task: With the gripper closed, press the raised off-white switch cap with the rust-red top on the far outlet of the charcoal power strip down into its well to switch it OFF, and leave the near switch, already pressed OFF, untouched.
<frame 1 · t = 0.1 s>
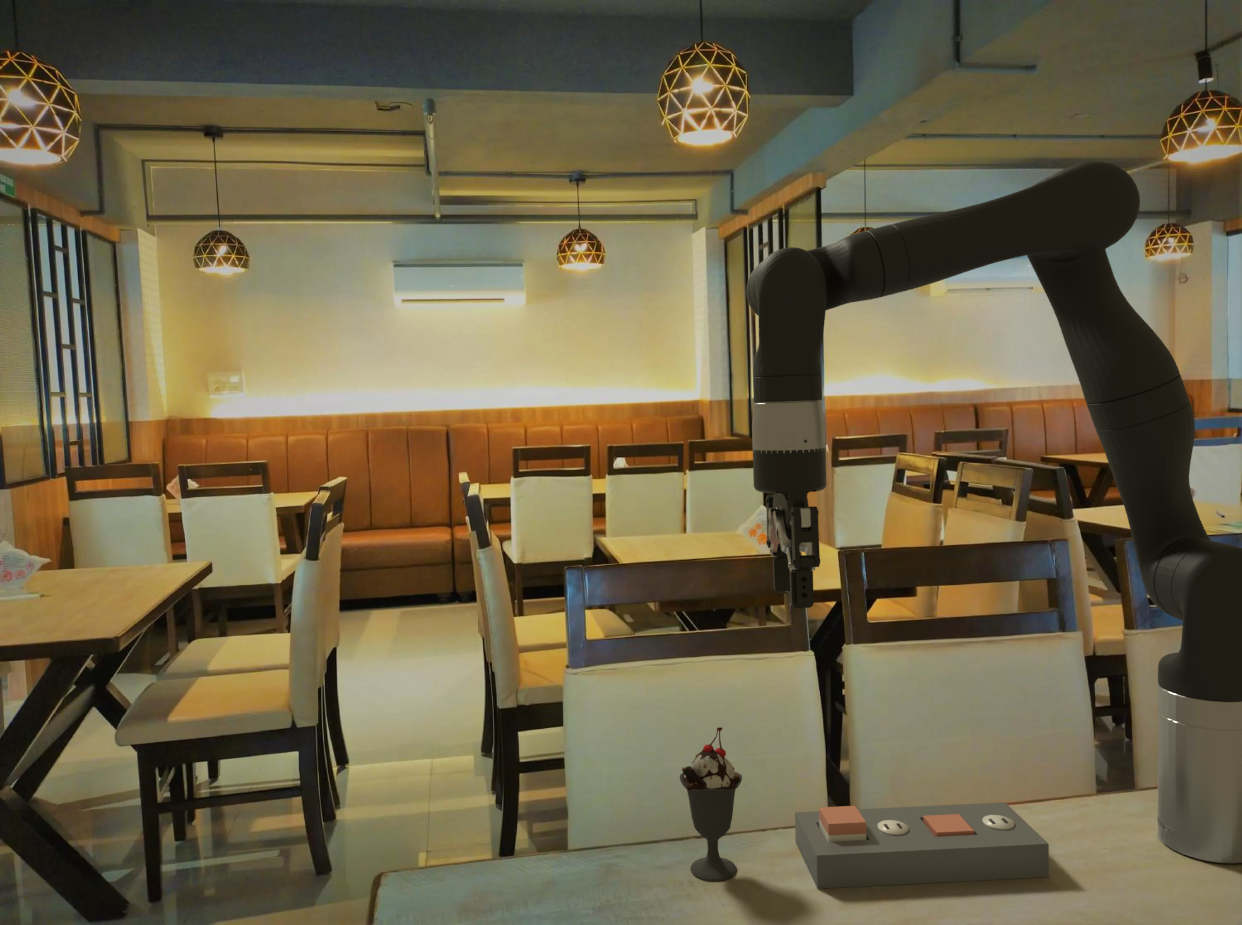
hand: (792, 598, 97), 29 cm above the table, fingers open, 8 cm apart
sundae: (713, 871, 99), on the table
switch 2: (842, 826, 99), point 4 cm above the table, slide at 0.0 cm
switch 1: (948, 834, 99), point 3 cm above the table, slide at 1.5 cm
power strip: (916, 858, 99), on the table
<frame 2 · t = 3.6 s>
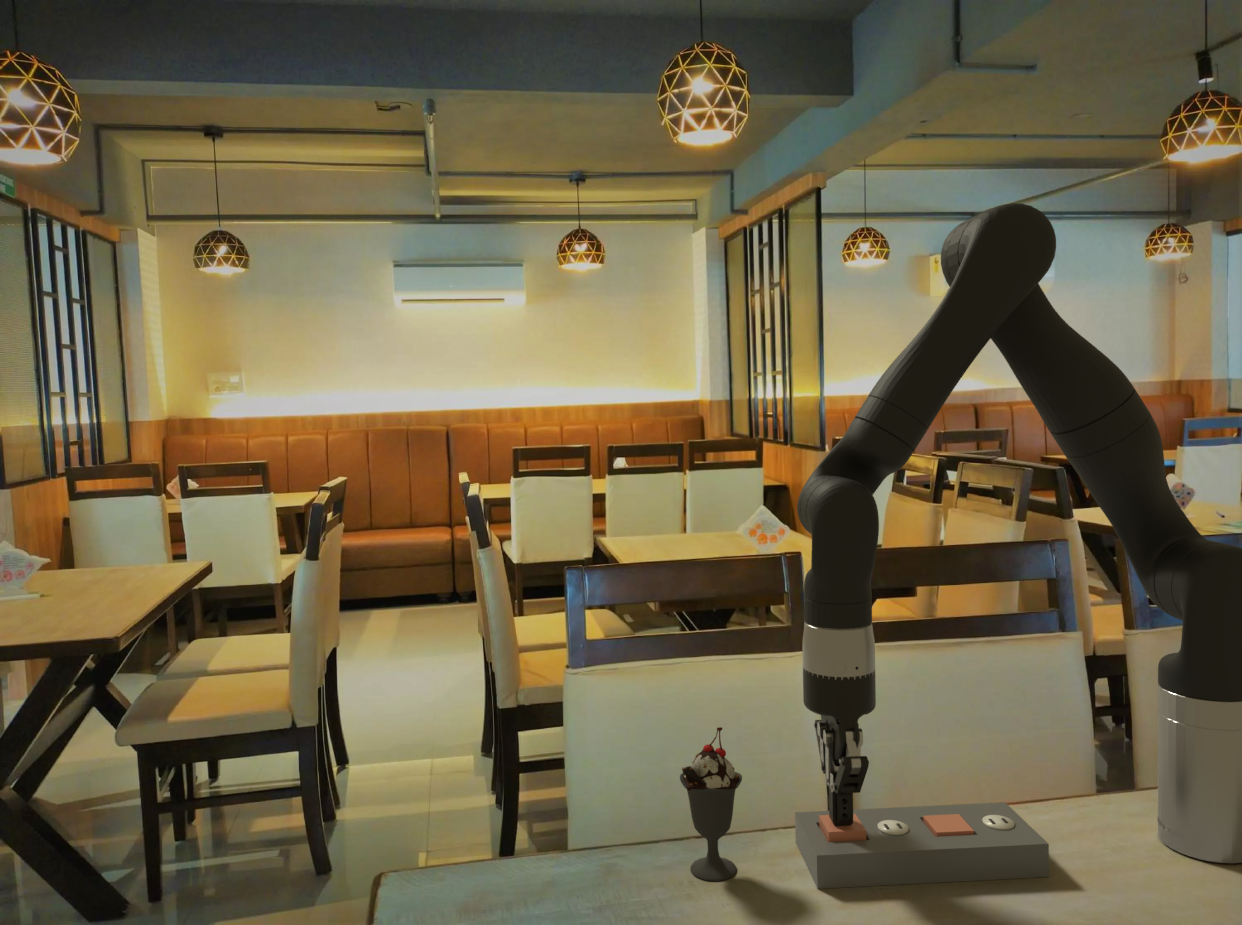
hand: (841, 822, 99), 4 cm above the table, fingers closed
switch 2: (842, 834, 99), point 3 cm above the table, slide at 0.9 cm, touching gripper
everything else where it was.
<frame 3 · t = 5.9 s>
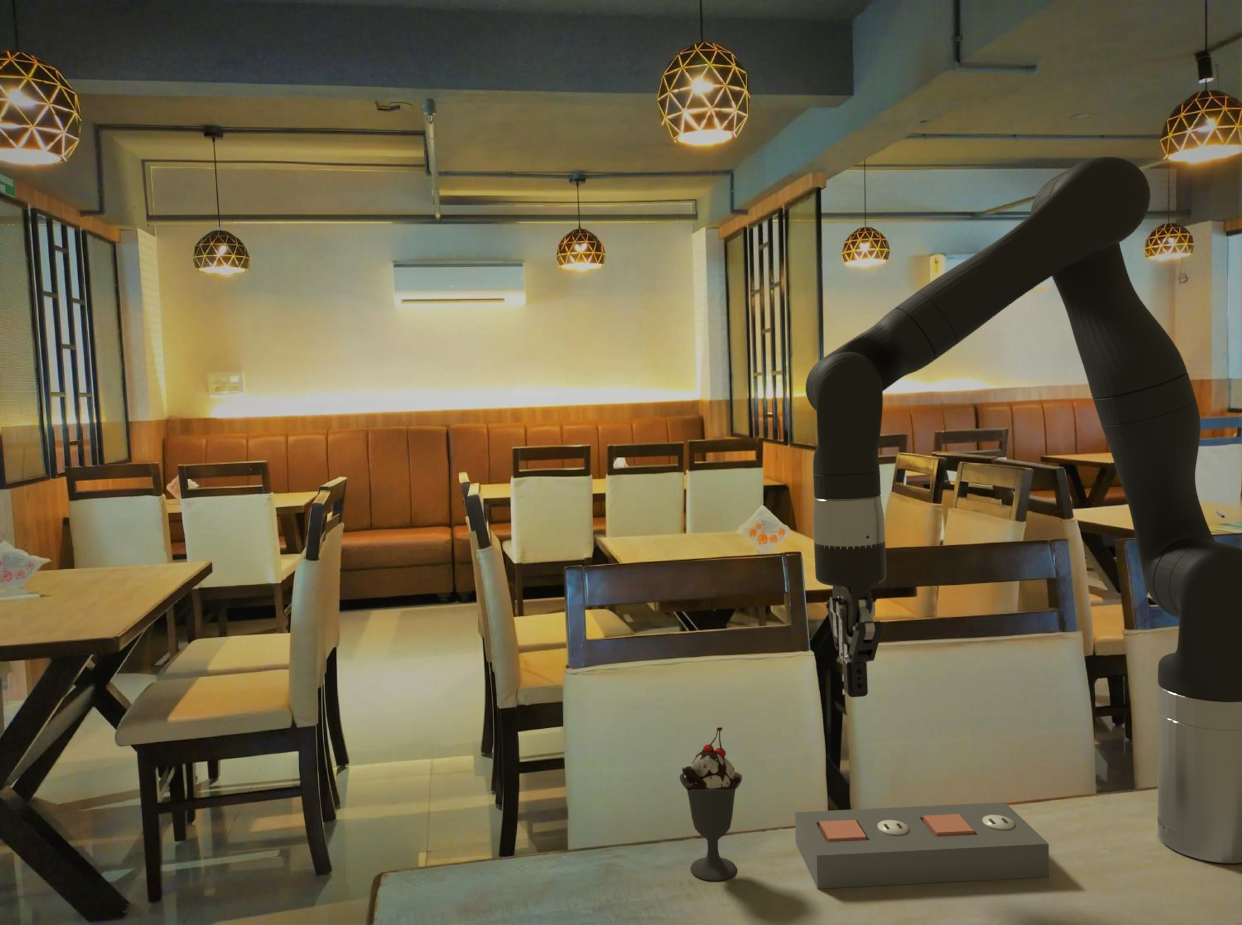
hand: (855, 694, 101), 17 cm above the table, fingers closed
switch 2: (842, 840, 99), point 2 cm above the table, slide at 1.6 cm
everything else where it was.
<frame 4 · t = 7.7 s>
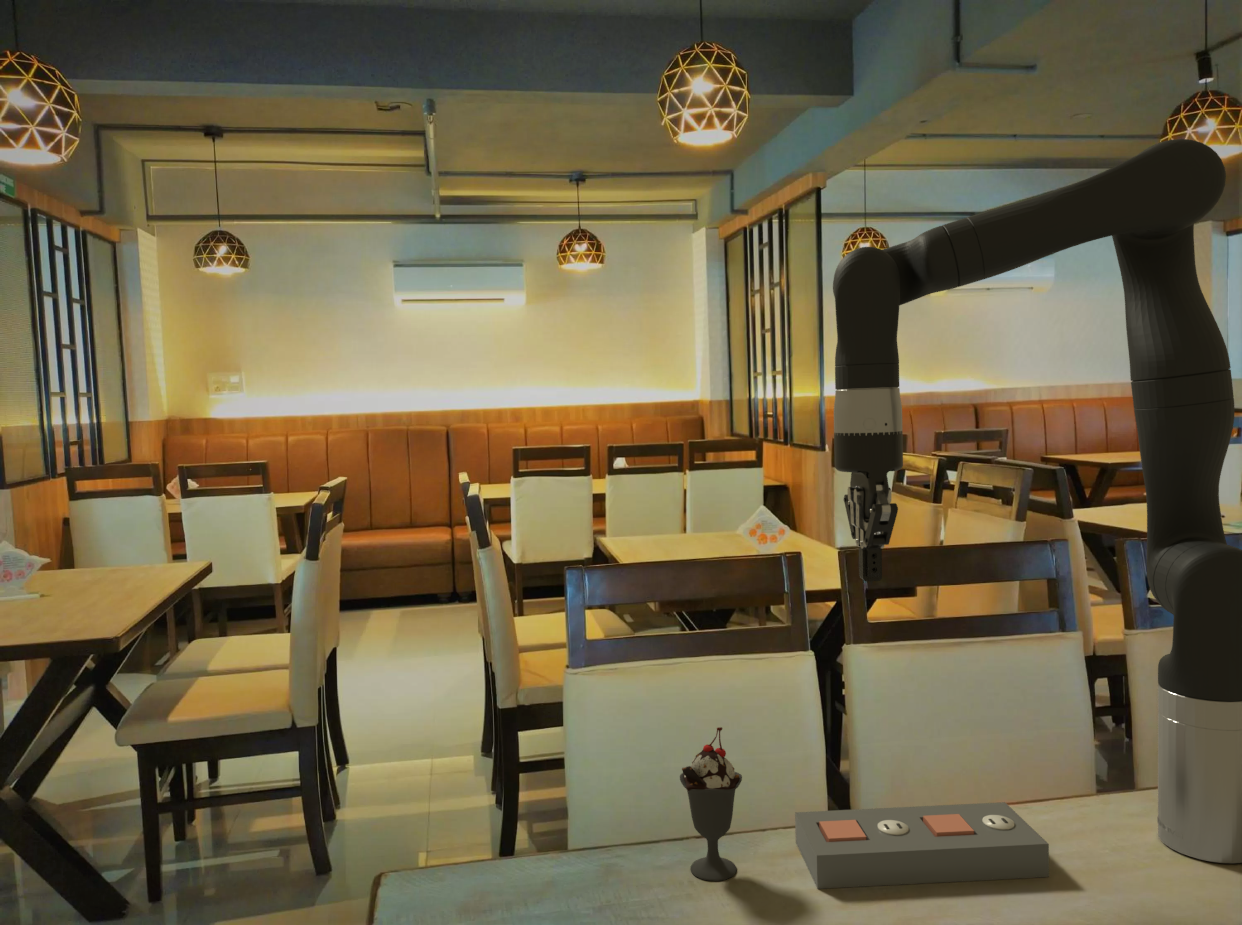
hand: (870, 579, 106), 29 cm above the table, fingers closed
nothing on the table moved.
at the end: switch 2 slide at 1.6 cm; switch 1 slide at 1.5 cm; sundae moved 0.2 cm from its start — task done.
